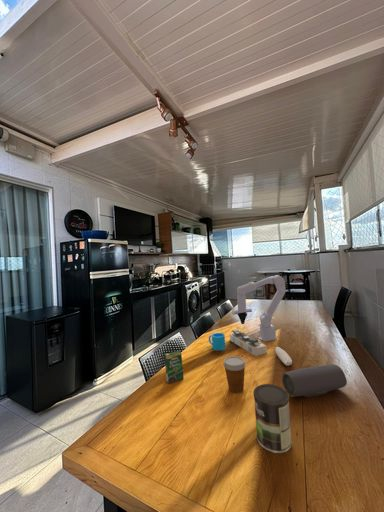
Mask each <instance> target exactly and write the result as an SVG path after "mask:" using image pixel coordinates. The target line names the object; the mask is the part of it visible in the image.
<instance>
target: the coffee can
mask: <svg viewBox="0 0 384 512" xmlns="http://www.w3.org/2000/svg"><path fill="white" fill-rule="evenodd" d="M252 393H253V398H254V399H253V400H254V412H255V414H254V415H255V429H256V440H257V443H258V444H259V445H260V446H261V447H262V448H263V449H265V450H266V451H267V452H270V453H272V454H283V453H284V454H285V453H287V452H288V451H290V449H291V448H292V445H293V444H292V443H293V442H292V434H291V420H290V419H291V417H290V402H289V400H290V395H289V394H288V393H287V392H286V390H285V388H284V387H283V388H282V387H280V386H278V385H275V384H270V383H268V384H267V383H266V384H265V383H264V384H259V385H257V386H256V387H254V389H253V391H252Z"/></svg>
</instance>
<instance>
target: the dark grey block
mask: <svg viewBox="0 0 384 512" xmlns="http://www.w3.org/2000/svg"><path fill="white" fill-rule="evenodd" d="M232 333H234V334H235V335H237V336H238V335H240V333H242V332H241V331H240V330H238V329H237V328H235V329H232Z"/></svg>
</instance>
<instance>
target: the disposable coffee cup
mask: <svg viewBox="0 0 384 512" xmlns="http://www.w3.org/2000/svg"><path fill="white" fill-rule="evenodd" d="M222 364H223V367H224V369H225V375H226V376H225V377H226V381H227V386H228V390H229V391H230V392H231V393H235V394H239V393H242V392H244V388H245V385H244V384H245V372H246V371H245V370H246V369H245V367H246V361H245V359H244V358H242V357H240V356H234V355H233V356H228V357H226V358H224V360H223V363H222Z"/></svg>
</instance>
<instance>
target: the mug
mask: <svg viewBox="0 0 384 512" xmlns="http://www.w3.org/2000/svg"><path fill="white" fill-rule="evenodd" d="M208 342H209V345H211V347H212V349H213V350H214V351H218V350H219V351H218V352H220V350H221V351H224V350H226V336H225V333H222V332H215V333H212V334H210V335H209V337H208Z"/></svg>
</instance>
